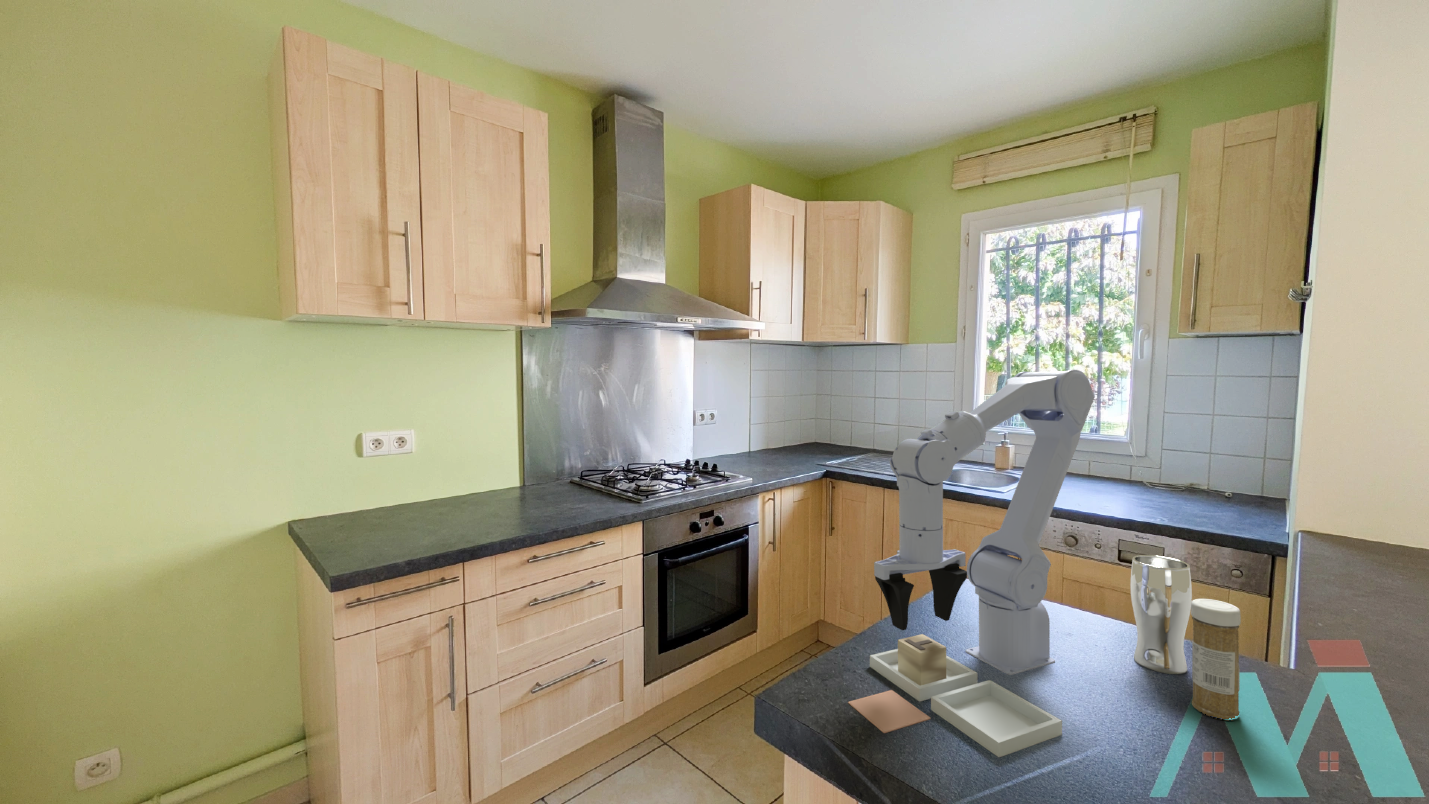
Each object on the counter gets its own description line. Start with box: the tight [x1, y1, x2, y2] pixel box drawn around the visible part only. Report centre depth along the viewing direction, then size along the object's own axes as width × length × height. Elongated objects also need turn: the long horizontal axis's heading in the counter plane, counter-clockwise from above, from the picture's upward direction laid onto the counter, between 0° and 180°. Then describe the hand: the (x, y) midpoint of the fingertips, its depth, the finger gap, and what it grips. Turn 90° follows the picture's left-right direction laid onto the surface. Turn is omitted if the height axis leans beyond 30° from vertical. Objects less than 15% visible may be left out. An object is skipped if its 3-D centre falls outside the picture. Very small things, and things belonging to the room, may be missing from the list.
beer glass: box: [1130, 554, 1193, 675], centre depth 82 cm, size 7×7×15 cm
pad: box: [847, 689, 932, 734], centre depth 71 cm, size 7×7×1 cm
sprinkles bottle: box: [1190, 598, 1242, 720], centre depth 70 cm, size 5×5×14 cm
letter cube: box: [897, 633, 947, 686], centre depth 79 cm, size 4×4×5 cm
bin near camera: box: [930, 679, 1063, 758], centre depth 68 cm, size 10×10×2 cm
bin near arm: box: [869, 648, 979, 702], centre depth 79 cm, size 10×10×2 cm
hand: (921, 622), depth 79 cm, fingers open, 7 cm apart
